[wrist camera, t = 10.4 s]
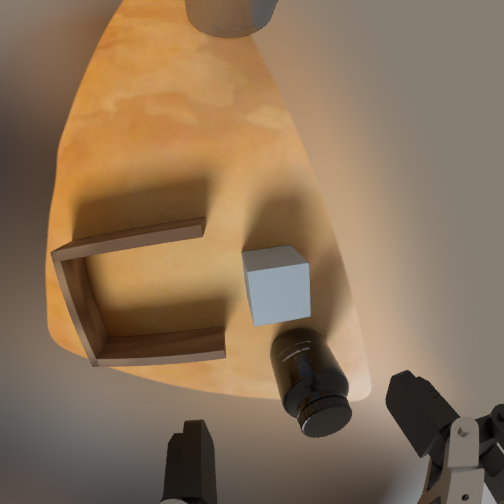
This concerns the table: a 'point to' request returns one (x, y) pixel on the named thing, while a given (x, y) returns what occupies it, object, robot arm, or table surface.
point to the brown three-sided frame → (88, 316)
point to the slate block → (276, 284)
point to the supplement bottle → (310, 382)
